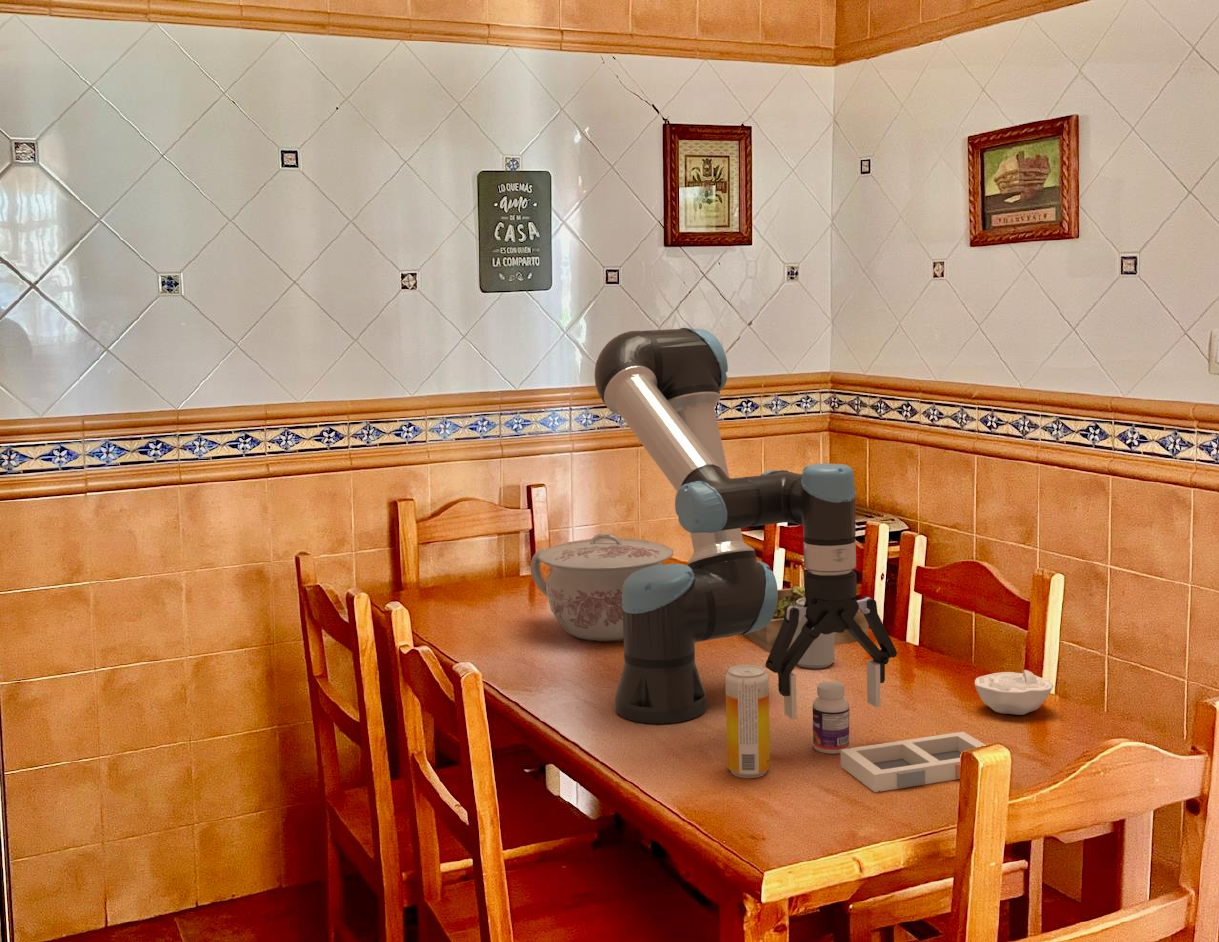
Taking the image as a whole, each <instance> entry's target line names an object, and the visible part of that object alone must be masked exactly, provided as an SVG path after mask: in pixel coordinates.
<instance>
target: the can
mask: <svg viewBox="0 0 1219 942" xmlns="http://www.w3.org/2000/svg"><path fill="white" fill-rule="evenodd" d="M805 601H806V599H805V598H800V599H798V600H797V601H796V603H797V604H796V606H795V607H804V605H805ZM806 621H807V618H806V617H805V616H803V617H802V620H801V621H800V622H798V626H797V629H796V632H795V634H794V636H793V642H794V641H795V640H796V638H797V637H798V635H799V634H800V632H801V629H802V627H803V625H804V624H805V623H806ZM812 629H813V628H812ZM835 651H836V650H835V644H834V632H833V633H831V634H823V633H821V634H820V635H819V637H818V638H817V639H815V640H814V641H813V642H812V644H811V645H810V646H809V648H808V649H807V651H806V652H805V654H804V655H803V656H802V658H801V659H800V661H799V662H798V663H797V665H798V666H799V667H801V668H804V669H809V670H810V669H812V670H815V669H816V670H817V669H824V668H825V669H826V668H828V667H830V666H831V665H832V663H834V662H835V659H836V658H835V656H836V655H835Z"/></svg>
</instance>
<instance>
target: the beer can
mask: <svg viewBox="0 0 1219 942" xmlns="http://www.w3.org/2000/svg"><path fill="white" fill-rule="evenodd" d="M724 680H725V714H726V716H725V718H726V719H725V720H726V721H725V722H726V724H725V725H726V730H725V731H726V762H727V763H726V767H727V769H728V770H730V772H731V774H732V775H734V776H735V777H738V778H741V779H742V778H743V779H754V778H755V779H757V778H760V777H763V776H765V775H766V773H767V771H769V769H770V767H771V749H770V744H771V741H770V740H771V739H770V683H769V680H770V679H769V675H768V674H767V671H766V667H763V666H761V665H758V664H757V665H756V664H738V665H734V666H733V665H732V666H730V667H729V668H728V670H727V674H726V675H725V679H724Z"/></svg>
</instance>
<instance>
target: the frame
mask: <svg viewBox="0 0 1219 942" xmlns="http://www.w3.org/2000/svg"><path fill="white" fill-rule="evenodd" d="M791 588H792V587H790V588H783V589H782V588H781V589H777V590H778V599H777V603H778V602H779V601H780V600H781V598H784V597H787V596H793V595H792V593H791V591H790V589H791ZM853 619H854V620H855V621H856V622H857V624H858V625H859V626H860V627H861V629H862V630H863V631H864V633H865V634H866V635H867V636H868V637H869V636H870V635H869V632H870V631H869V628H870V626H869V624H868V622H867V620H866V618H865V616H864V614H863V613H862V612H861V611H860V609H859V610H858V612H857V613H856V615H855V617H854V618H853ZM783 621H784V618H780V619H773V618H772V620H771V621H770V623H769V624H768V625H767V626H766V627H765V628H763V629H761V630H758V631H754V632H750V633H748V634H745V635H743V636H744V637H745V638H747V639H748V640H750V641H751V642H753V643H755V644H757V646H759V647H760V648H763V649H764V650H765V651H767V652H768V653H770V652H771V649H772V647H773V645H774V642H775V640H776V637H777V635H778V633H779V630H780V628H781V626H782V623H783ZM869 638H870V637H869ZM853 642H854V643H855V642H857V640H856V639H855V638H854V637H853V636H852V635H851V634H850V633H849V631H848V630H845V631H844V632H842V633H837V632H834V645H836V644H837V645H838V644H839V645H840V644H846V643H853ZM792 644H793V639H792V641H791V644H790V646H789V648H790V647H791V645H792ZM789 648H788V650H789Z"/></svg>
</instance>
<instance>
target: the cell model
mask: <svg viewBox="0 0 1219 942" xmlns="http://www.w3.org/2000/svg"><path fill="white" fill-rule="evenodd" d="M974 686H975V689H976V691H977V694H978V696H979V697H980V699H981V701H982V702H983V703H984V705H986V707H987V706H988V707H989V708H990V709H991V710H993V711H994V712H996V713H997V714H998V713H999V714H1004V715H1005V714H1009V715H1015V716H1018V715H1019V716H1023V715H1026V714H1028V713H1031V712H1033V711H1037V710H1038V709H1040V707H1041V706H1042V704H1044V702H1045V701H1046V699H1048V697H1049V695H1050V693H1051V691H1052V690H1053V688H1054V687H1055V686H1054V684H1053V683H1052V682H1051V681H1050V680H1048V679H1046V678H1043V677H1040V676H1038V675H1035V674H1034V673H1033V672H1032V671H1030V670H1028V669H1023V671H1022V673H1021V672H1012V671H1002V672H1001V671H1000V672H993V673H989V674H986V675H981V676H978V677H976V678H975V680H974Z"/></svg>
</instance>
